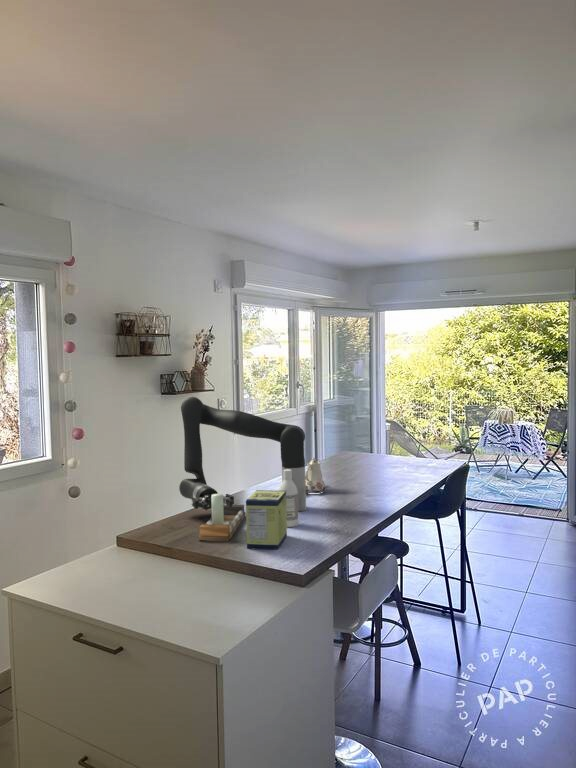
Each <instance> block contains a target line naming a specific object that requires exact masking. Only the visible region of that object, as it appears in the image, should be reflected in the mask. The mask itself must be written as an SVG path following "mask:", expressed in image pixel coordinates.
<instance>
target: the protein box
mask: <svg viewBox="0 0 576 768" xmlns="http://www.w3.org/2000/svg"><path fill="white" fill-rule="evenodd" d="M245 518H246V548H247V549H251V548H255V549H257V548H258V550H279V549H280V547H281V546H282V544H283V543H284V541H285V539H286V538H287V537H288V532H287V531H288V529H287V528H288V527H287V517H286V491H279V490H268V489H267V490H266V489H265V490H263V489H262V490H261V489H256V490H255V491H254V493H252V494H251V495H250V496H249V497H248V498H246V500H245ZM255 549H254V550H255Z"/></svg>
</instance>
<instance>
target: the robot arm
mask: <svg viewBox="0 0 576 768" xmlns="http://www.w3.org/2000/svg"><path fill="white" fill-rule="evenodd" d="M180 411H181V415H182V423H183V432H184V433H183V434H184V438H183V439H184V446H183V447H184V452H183V453H184V461H183V462H184V465H183V466H184V467H183V468H184V471H185V472H186V473H188V474H192V475H194V476H195V478H184V479H183V480H181V482H180V483H179V485H178V487H179V488H178V490H179V492H180V495H181V496H182V497H183V498H185V499H189V500H191V506H192V507H193V509H196V510H197V509H202V510H204V511H208V509H209V510H210V509H211V510H212V503H211V495H212V494H219V492H218V491H217V489H215V488H214V487H211V486H209V485H208V484H207V480H206V478H205V473H204V470H203V469H204V468H203V447H202V440H201V430H200V429H201V427H200V426H201V425H206V426H212V427H214V428H215V427H216V428H218V429H221V430H223V431H227V432H230V433H232V434H237V435H239V436H243V437H249V438H256V439H257V438H258V439H266V440H267V439H268V440H270V441H271V440H272V441H276V442H278V443H279V444H280V460H281V461H280V462H281V483H282V482H283V480H284V470H285V469H290V470H292V481H293V482H294V484H295V485H296V488H297V491H298V512H302V511H306V509H307V494H306V484H305V476H306V459H305V448H304V447H305V439H306V434H305V431H304V429H302V428H301V427H300V426H298V425H294V424H288V423H287V424H286V423H281V422H278V421H277V422H276V421H273V420H270V419H267V418H265V417H262V416H259V415H254V414H252V413H248V412H244V411H241V410H237V409H236V410H234V409H218V408H215V407H213V406H209V405H207V404H204V403H203V402H202V400H200V399H199V398H197V397H196V396H188V397H186V398H185V399H184V400H183V401H182V402H181V404H180ZM223 505H227V506H229V507H232V506H233V505H235V496H233V495H231V494H230V493H226V494H225V495H223Z"/></svg>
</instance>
